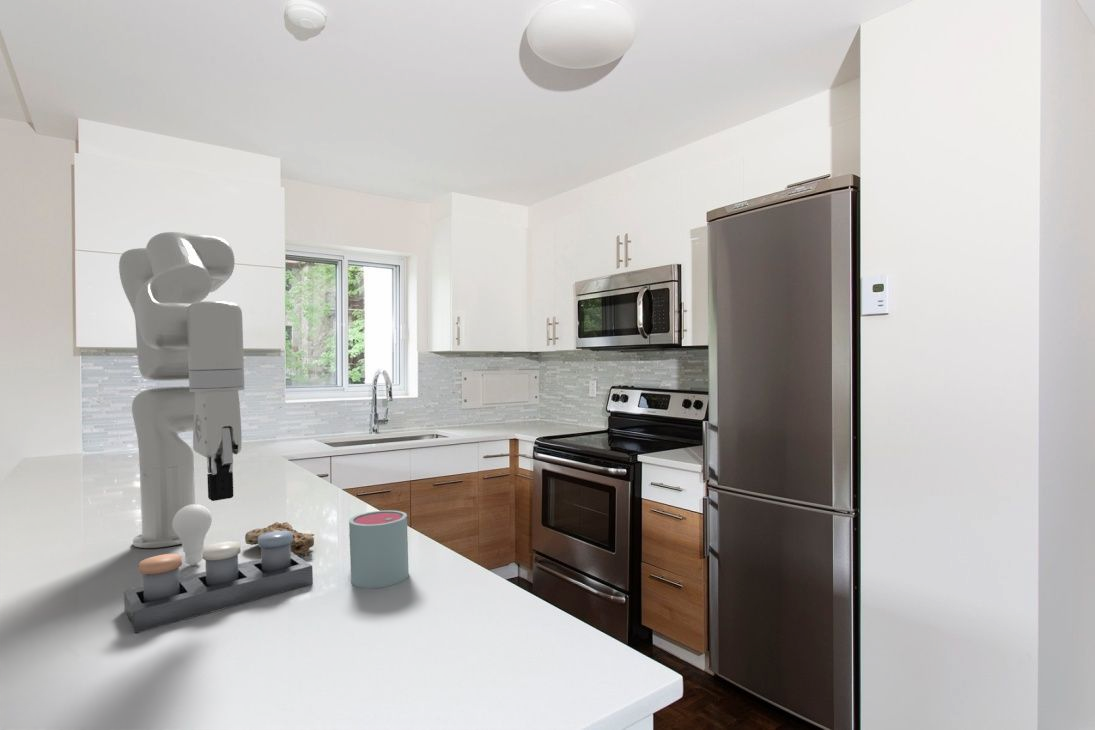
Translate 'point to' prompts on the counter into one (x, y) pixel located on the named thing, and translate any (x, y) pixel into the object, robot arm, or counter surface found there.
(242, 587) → the key panel
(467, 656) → the counter surface
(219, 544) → the cream key
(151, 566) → the terracotta key
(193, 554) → the lightbulb
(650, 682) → the counter surface
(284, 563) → the light blue cylinder
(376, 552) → the mug
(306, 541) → the rock
